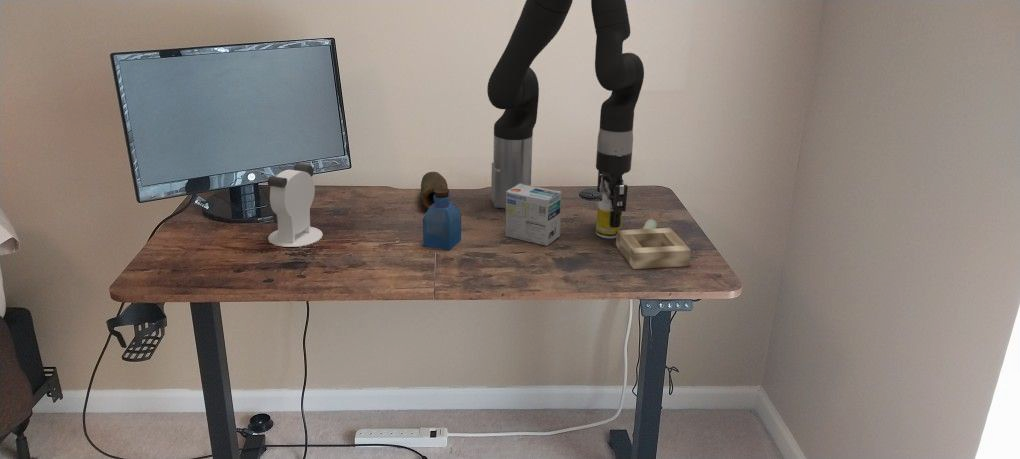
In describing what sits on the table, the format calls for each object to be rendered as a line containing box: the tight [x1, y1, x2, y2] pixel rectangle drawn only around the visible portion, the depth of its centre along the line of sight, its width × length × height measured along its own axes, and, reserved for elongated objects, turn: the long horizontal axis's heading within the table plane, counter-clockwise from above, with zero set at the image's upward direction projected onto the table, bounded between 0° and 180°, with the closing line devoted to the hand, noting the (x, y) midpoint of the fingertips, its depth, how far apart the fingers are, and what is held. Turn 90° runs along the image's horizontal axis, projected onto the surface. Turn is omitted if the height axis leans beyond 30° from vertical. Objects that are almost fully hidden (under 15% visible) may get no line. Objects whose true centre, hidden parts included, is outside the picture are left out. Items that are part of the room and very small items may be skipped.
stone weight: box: [420, 171, 449, 210], centre depth 190 cm, size 15×7×7 cm, turn 10°
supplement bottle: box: [595, 191, 623, 240], centre depth 172 cm, size 5×5×10 cm
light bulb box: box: [504, 184, 563, 247], centre depth 170 cm, size 11×7×11 cm, turn 62°
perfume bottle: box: [422, 188, 462, 251], centre depth 166 cm, size 6×6×12 cm
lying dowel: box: [642, 218, 658, 229], centre depth 174 cm, size 8×3×3 cm
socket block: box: [615, 227, 692, 270], centre depth 164 cm, size 12×12×4 cm
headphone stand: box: [267, 163, 323, 248], centre depth 166 cm, size 12×11×15 cm
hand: (609, 220), depth 173 cm, fingers open, 7 cm apart
